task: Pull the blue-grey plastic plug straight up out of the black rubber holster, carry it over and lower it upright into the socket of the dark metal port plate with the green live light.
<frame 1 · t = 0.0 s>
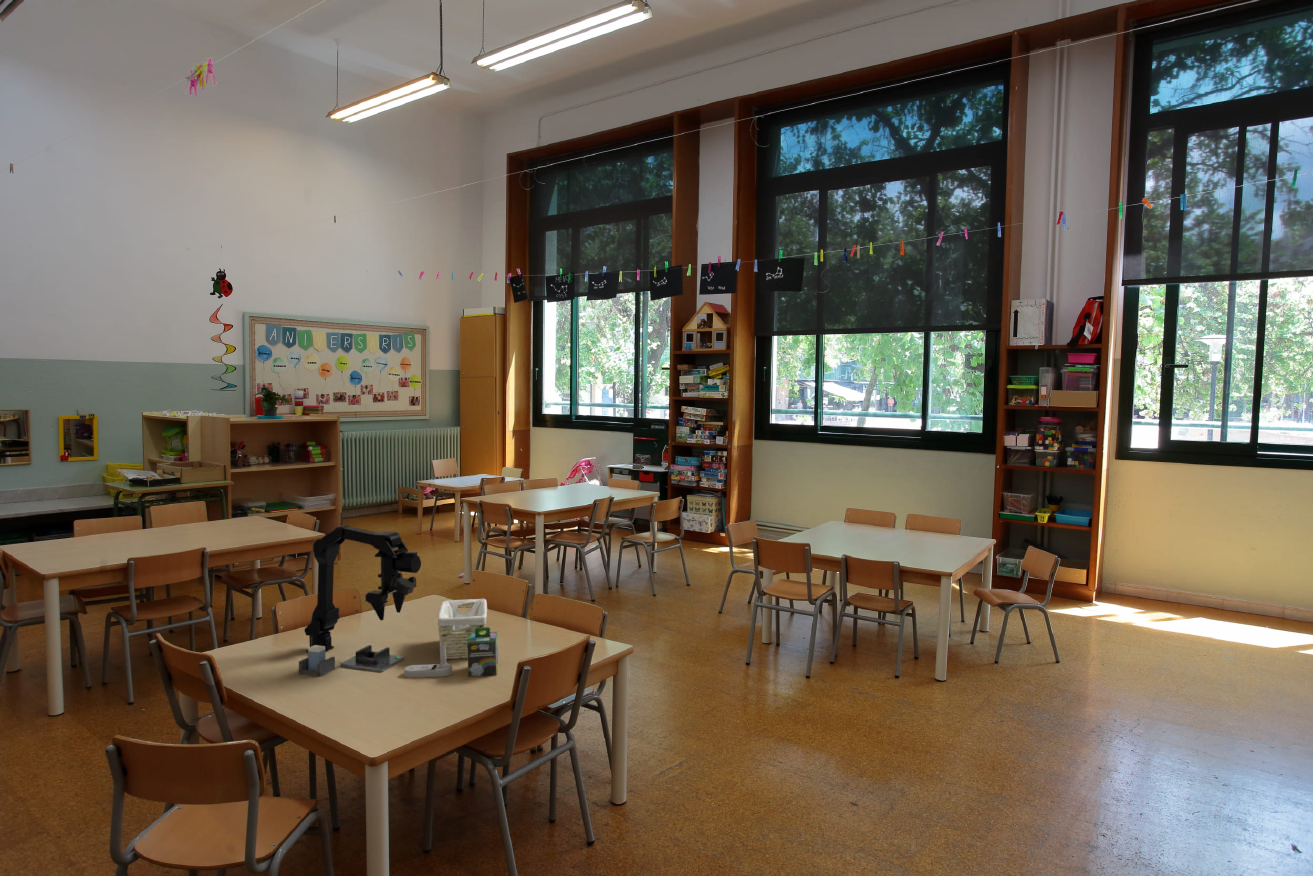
hand: (390, 616, 259), 15 cm above the table, fingers open, 9 cm apart
holster: (317, 671, 248), on the table
storage basket: (463, 649, 272), on the table
plug: (317, 671, 248), resting in holster
port: (372, 663, 256), on the table
chalk box: (482, 671, 251), on the table
electronic device: (428, 675, 247), on the table
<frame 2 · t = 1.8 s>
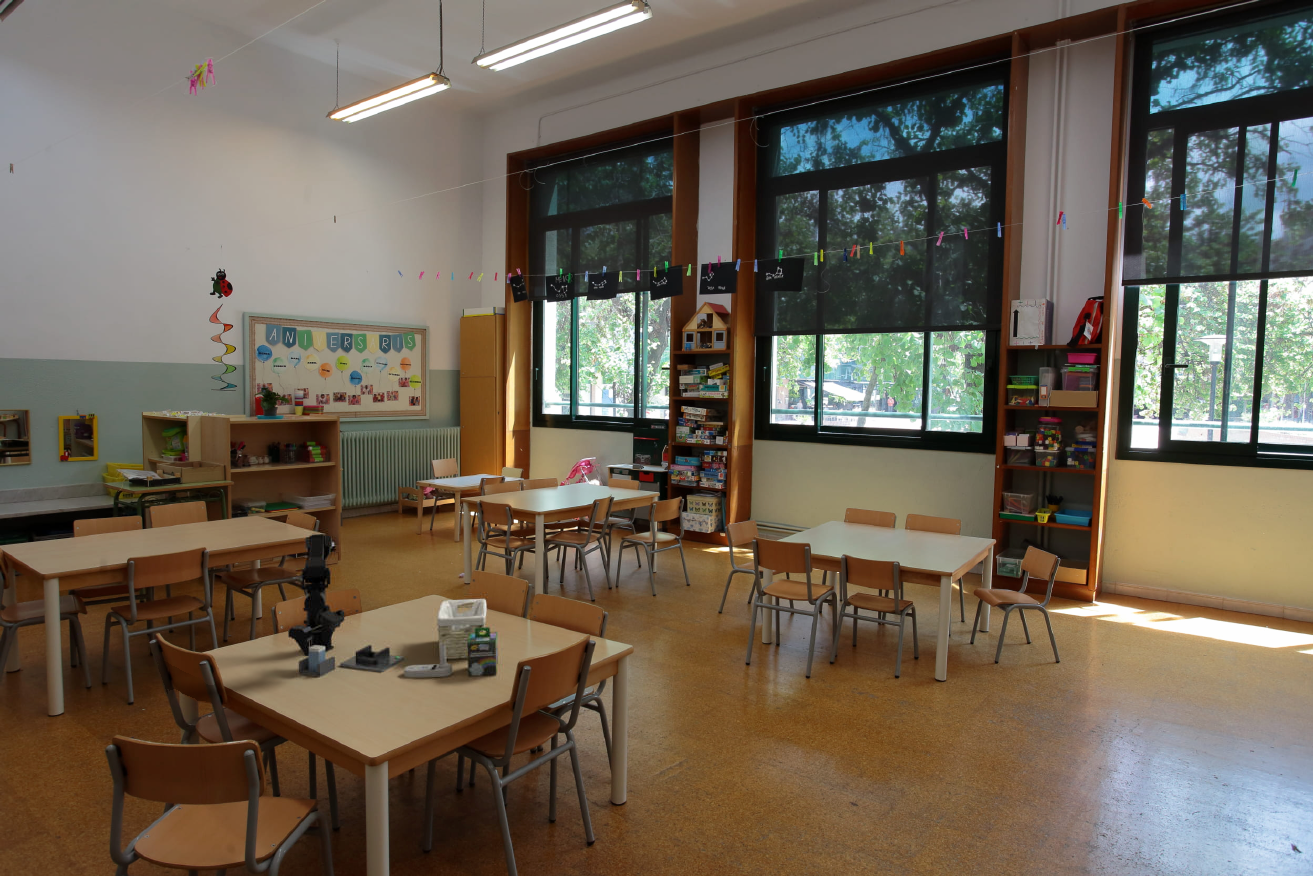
hand: (316, 651, 248), 7 cm above the table, fingers open, 9 cm apart
nothing on the table moved.
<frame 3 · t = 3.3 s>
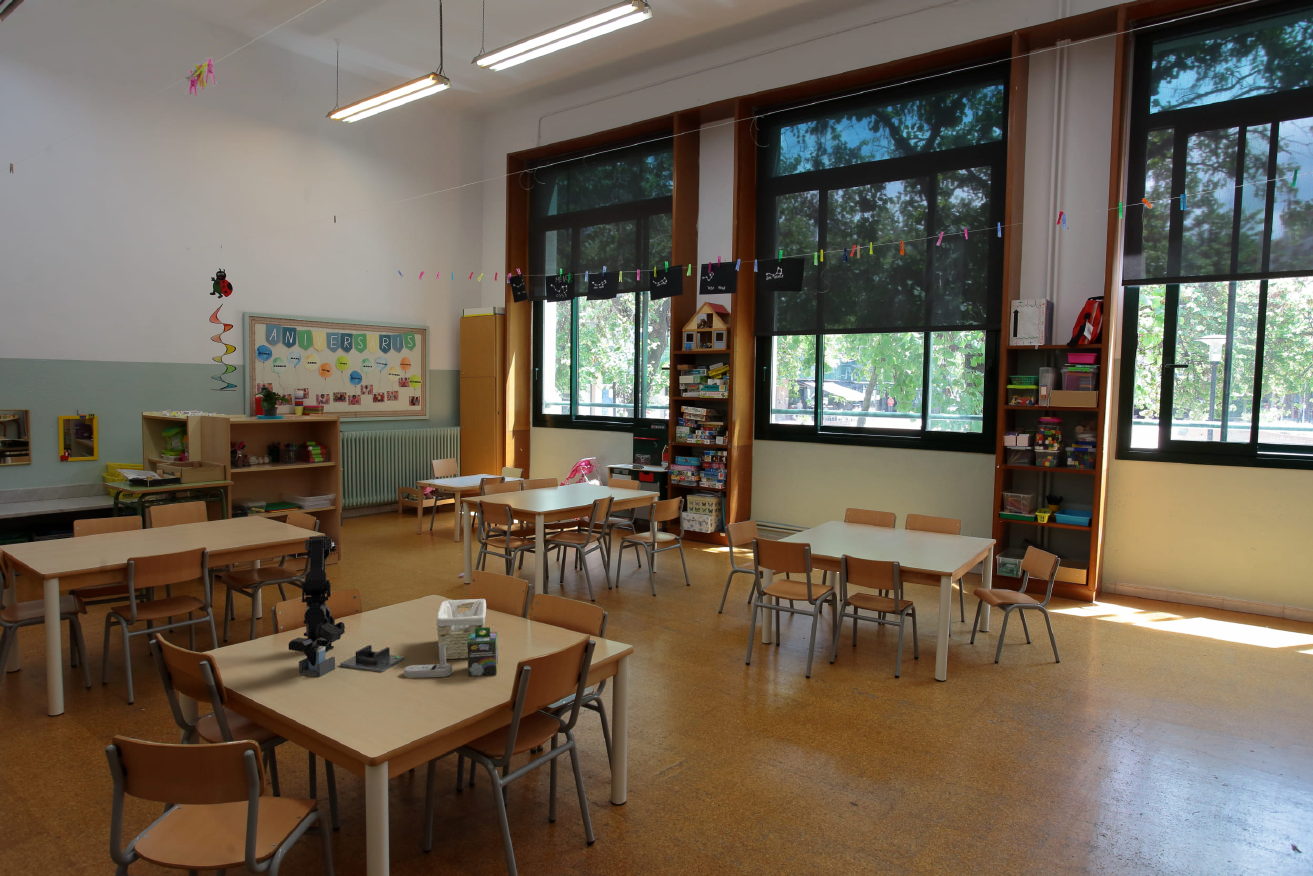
hand: (317, 663, 248), 3 cm above the table, fingers closed on plug, 3 cm apart
plug: (317, 671, 248), resting in holster, touching gripper
everything else where it was.
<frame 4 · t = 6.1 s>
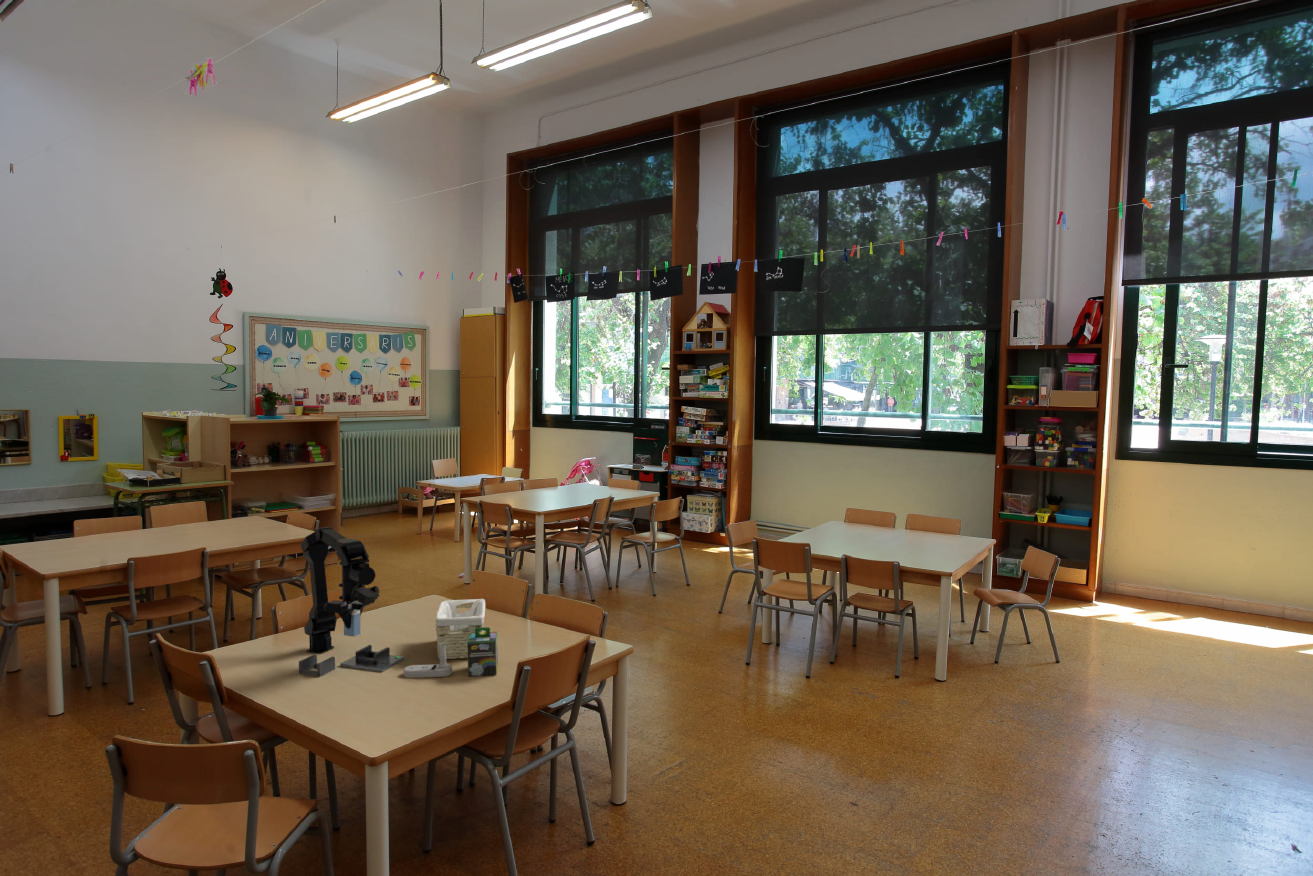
hand: (352, 626, 252), 13 cm above the table, fingers closed on plug, 3 cm apart
plug: (352, 634, 252), point 11 cm above the table, touching gripper
everything else where it was.
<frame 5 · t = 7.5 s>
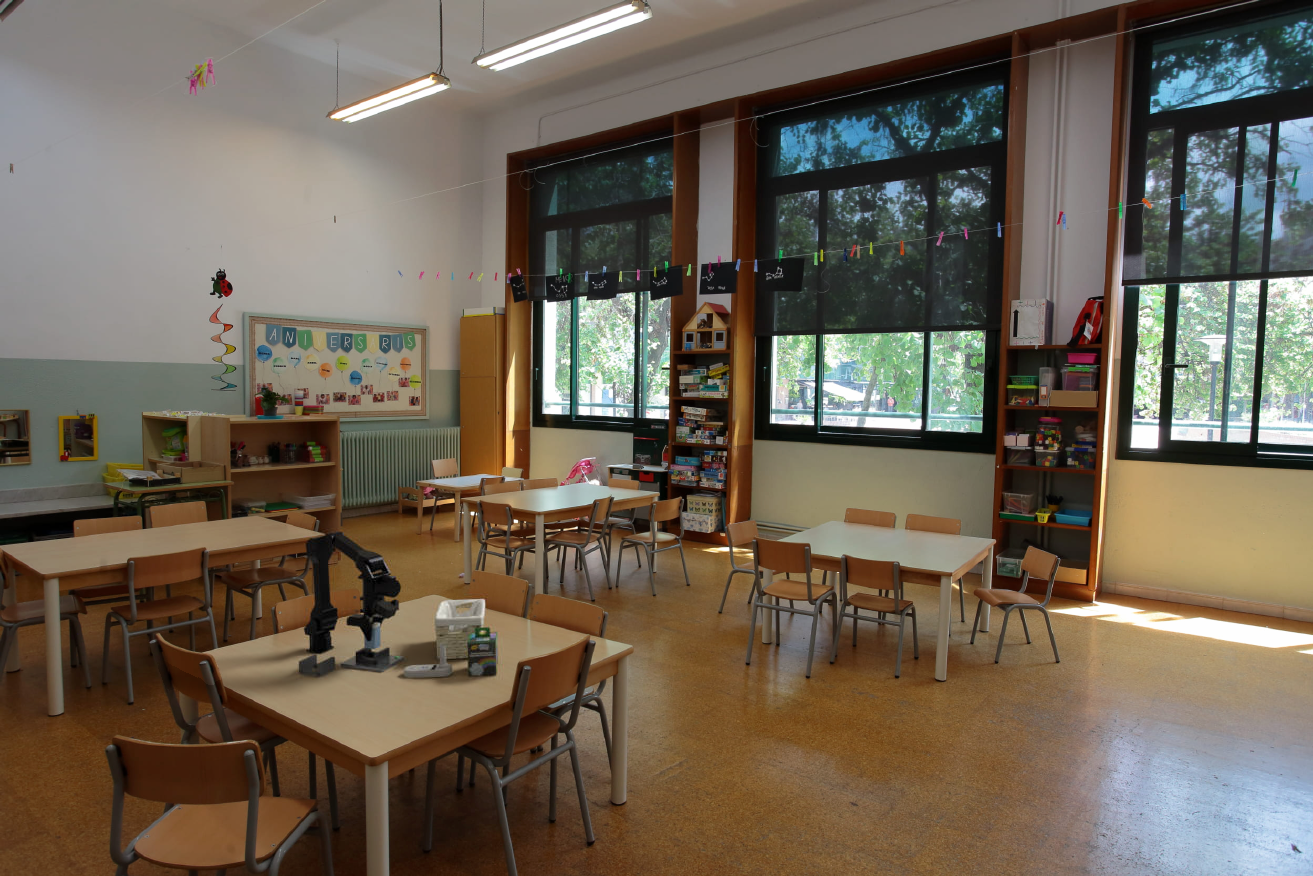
hand: (372, 639, 256), 8 cm above the table, fingers closed on plug, 3 cm apart
plug: (372, 647, 256), point 5 cm above the table, touching gripper
everything else where it was.
when the fingers open (4 cm above the table, at t = 8.8 s): plug stays where it is, resting on port.
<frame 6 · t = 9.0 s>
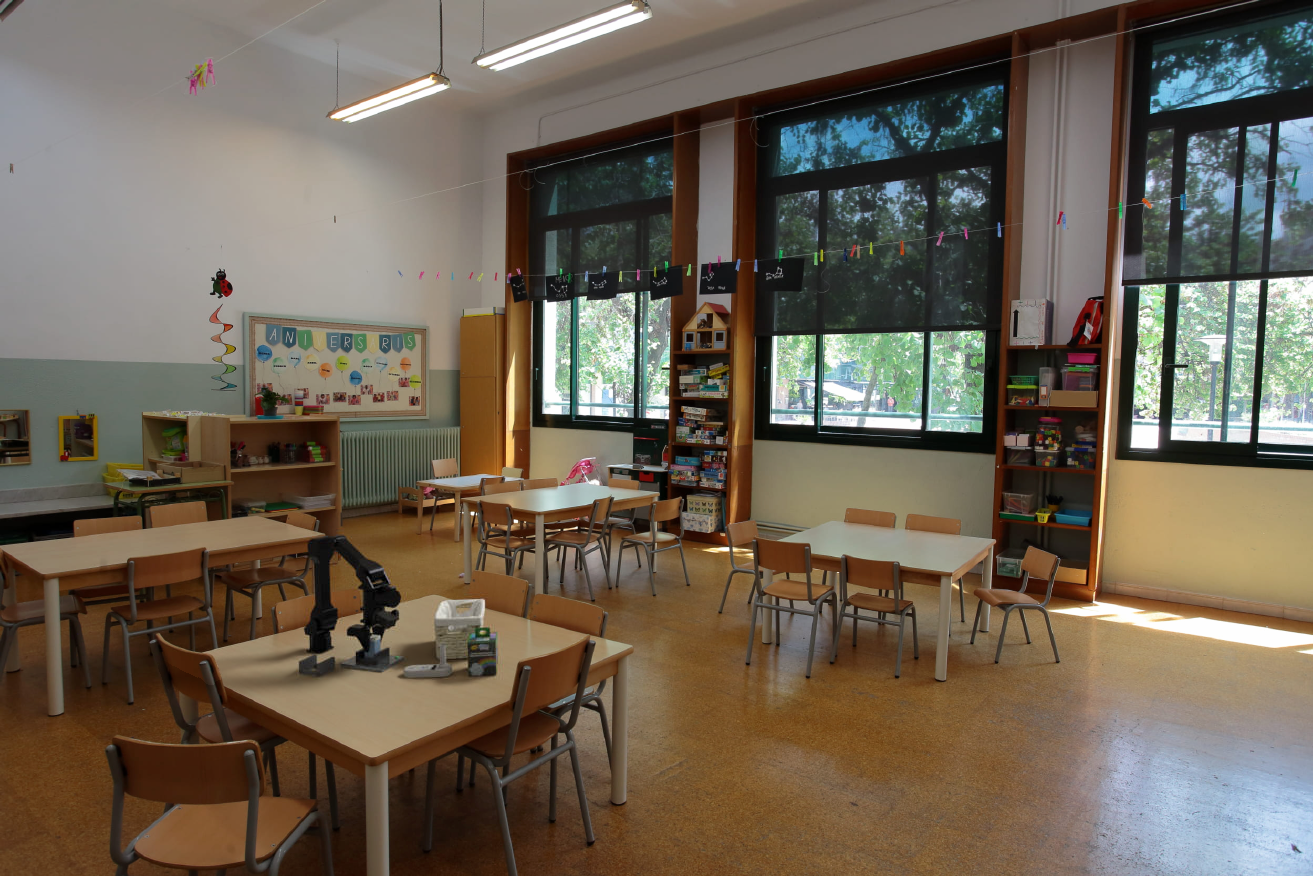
hand: (372, 649, 256), 4 cm above the table, fingers open, 5 cm apart
plug: (372, 660, 256), point 1 cm above the table, touching port
everything else where it was.
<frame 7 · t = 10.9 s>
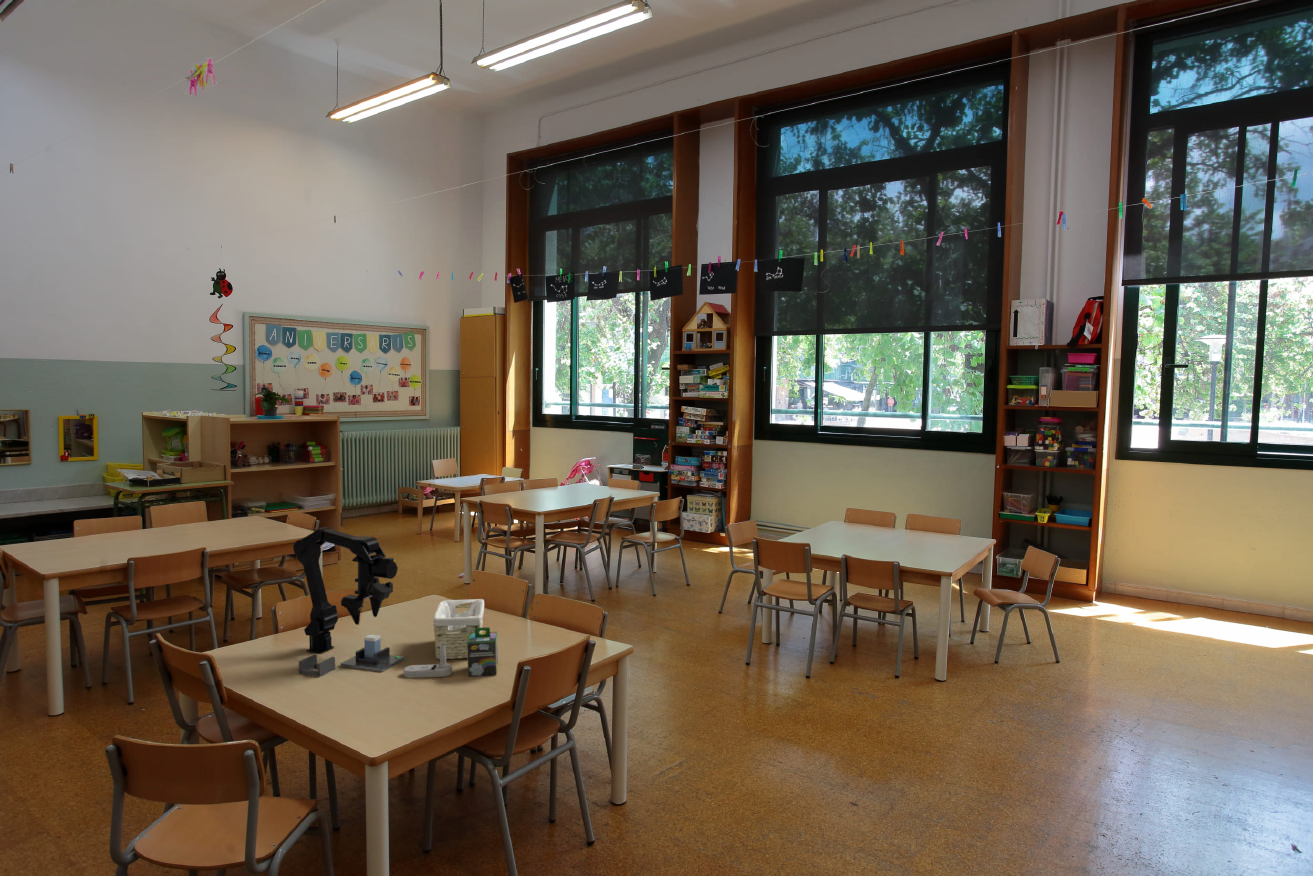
hand: (366, 620, 261), 13 cm above the table, fingers open, 9 cm apart
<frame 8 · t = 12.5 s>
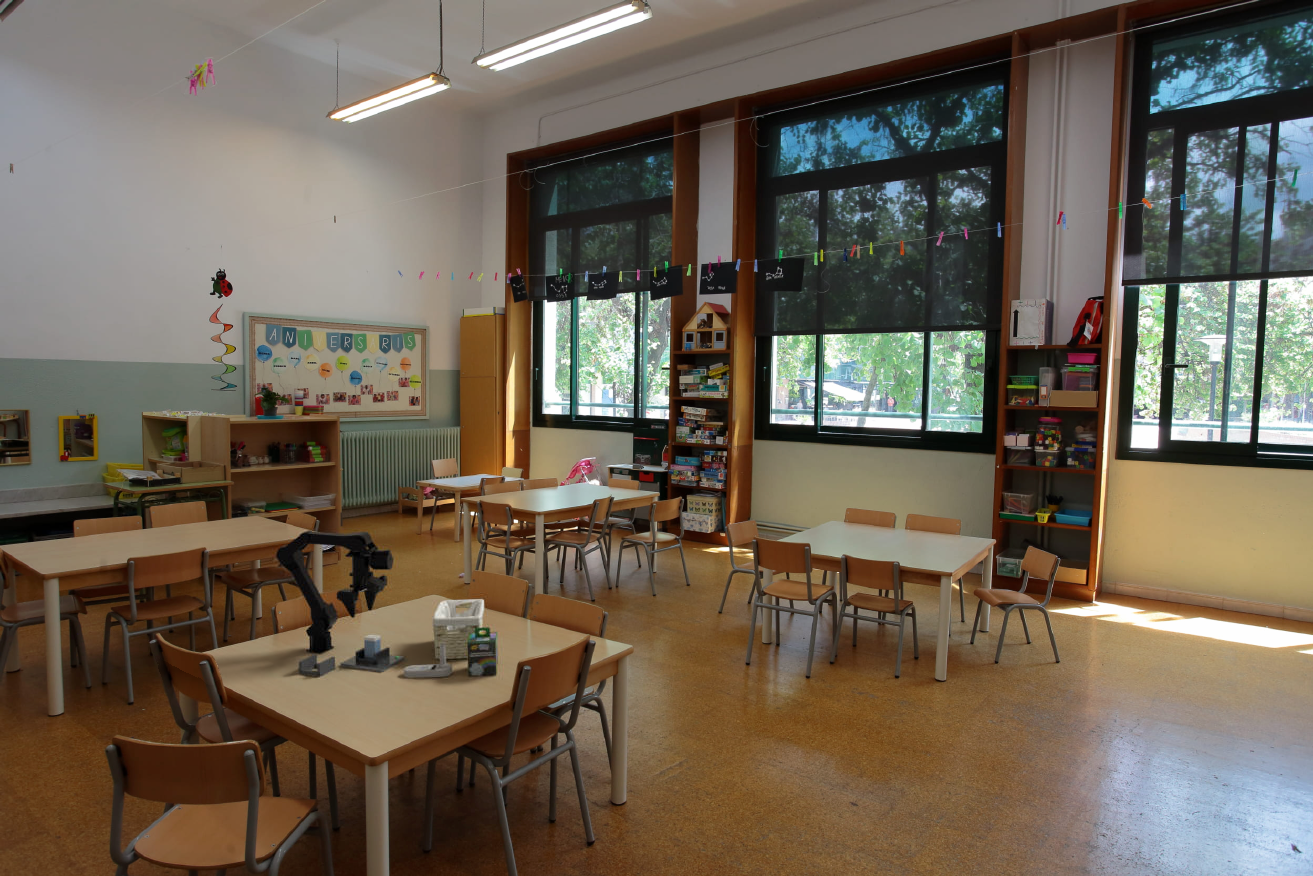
hand: (361, 613, 267), 13 cm above the table, fingers open, 9 cm apart
at the end: plug 0.0 cm off-centre on the port, point 1.0 cm above the port's base; plug tilted 0°; the gripper is holding nothing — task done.
